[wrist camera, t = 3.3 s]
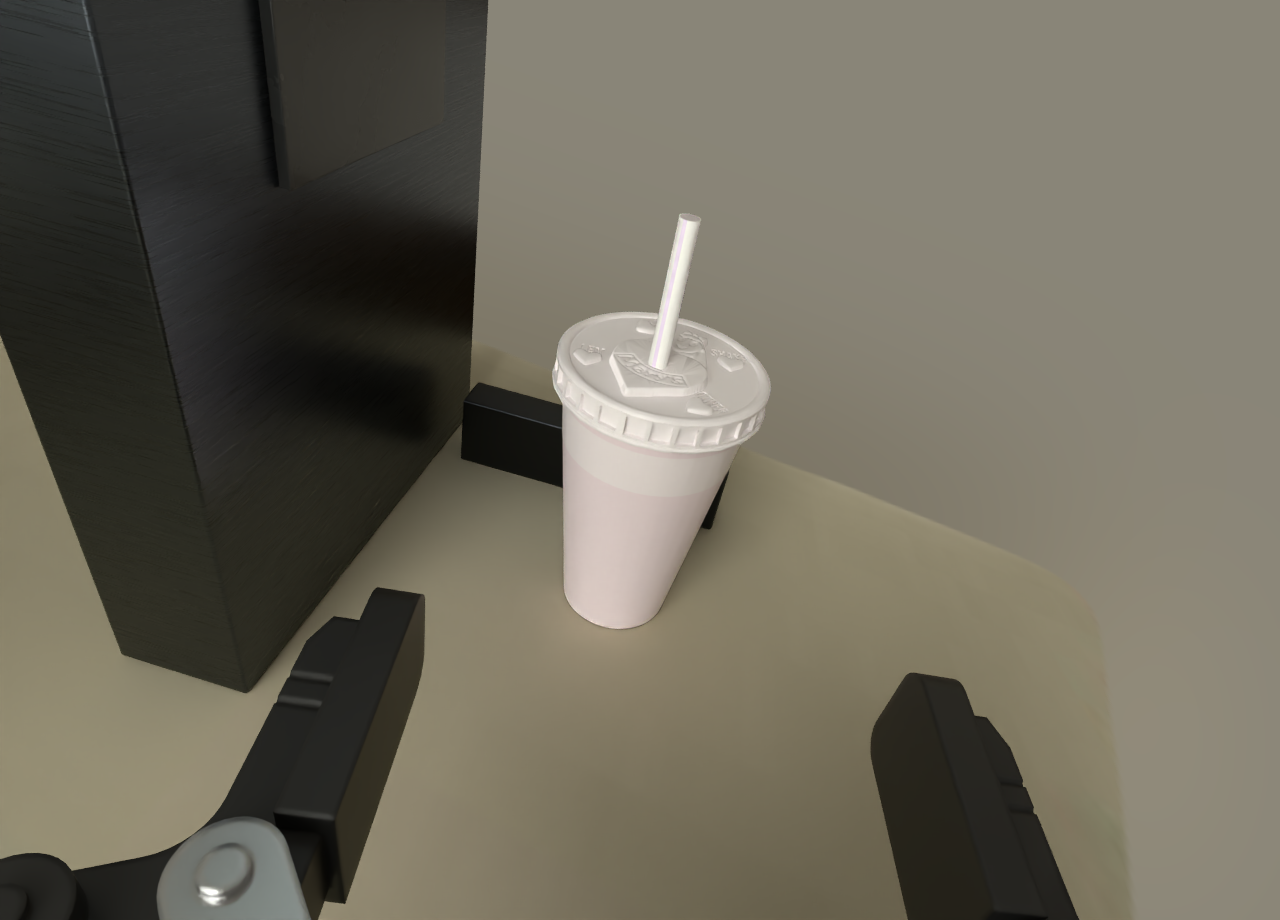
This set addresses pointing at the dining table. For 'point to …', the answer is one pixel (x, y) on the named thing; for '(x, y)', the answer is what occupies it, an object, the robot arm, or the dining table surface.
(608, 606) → the smoothie
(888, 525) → the dining table surface
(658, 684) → the dining table surface
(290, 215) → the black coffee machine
